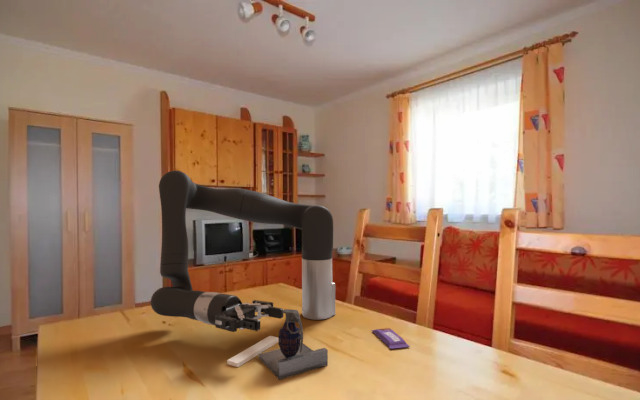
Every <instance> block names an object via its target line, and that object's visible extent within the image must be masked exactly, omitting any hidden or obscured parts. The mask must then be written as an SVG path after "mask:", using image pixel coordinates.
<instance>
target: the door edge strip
mask: <svg viewBox="0 0 640 400" xmlns="http://www.w3.org/2000/svg"><path fill="white" fill-rule="evenodd" d="M278 343H279V341H278V337H277V336H273V335H269V336H267V337H265V338H263V339H261V340H260V341H258V342H255V344H253V345H252V346H250V347H248V348H245V349H244V350H242V351H241V352H239V353H237V354H236V355H234V356H232V357H230V358H229V359H227V360H226V365H228V366H229V365H230V366H232V367H236V368H239V367H241V366H242V365H244V364H246V363H247V362H249V361H250V360H252V359H254V358H255V357H257V356H258V354H261V353H264V352H266V350H268V349H270V348H271V347H273V346H275V345H276V344H278Z"/></svg>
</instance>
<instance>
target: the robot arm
mask: <svg viewBox="0 0 640 400" xmlns="http://www.w3.org/2000/svg"><path fill="white" fill-rule="evenodd" d="M158 182H159V183H158V192H159V200H160V206H161V251H160V252H161V253H160V267H159V273H160V276H161V277H162V278H165V279H168V280H170V281H171V285H172V286H163V287H160V288H158V289H157V290H155V291H154V292H153V294H152V296H151V298H150V306H151V309H152V311H154V313H156V314H157V315H159V316H164V317H174V318H176V317H177V318H187V319H191V320H194V321H197V322H202V323H203V324H206V325H211V326H215V328H217V329H220V330H224V331H228V332H231V333H235V332H237V330H250V331H254V332H258V331H260V330H261V320H260V319H261V318H262V317H270V318H274V319H275V318H276V319H283V318H284V313H282V311H283V310H284V309H283V308H282V307H276V306H274V302H273V301H264V300H256V299H253V300H252V301H251V302H252V303H249V302H242V300H241V299H240V298H239V296H237V295H233V294H228V293H221V292H216V291H203V290H202V291H201V290H193V286H192V283H191V277H190V274H189V240H188V231H187V223H186V220H187V219H186V218H187V217H186V213H187V211H186V210H187V209H189V210H190V209H191V210H199V211H207V212H212V213H214V214H219V215H222V216H225V217H229V218H234V219H237V220H241V221H246V222H250V223H259V224H265V225H266V224H269V225H283V226H287V227H292V228H295V229H298V230H301V291H302V292H301V295H302V296H301V297H302V298H301V301H302V302H301V303H302V304H301V305H302V306H301V311H302V312H301V313H302V314H301V315H302V317H303V318H305V319H309V320H316V321H317V320H325V319H330V318H332V317H333V316H335V315H336V283H335V282H333V250H334V219H333V214H332V212H331V211H330V210H329V208H327V207H325V206H323V205H321V204H320V205H318V204H302V203H297V202H291V201H290V202H289V201H287V200H283V199H281V198H278V197H275V196H272V195H269V194H267V193H263V192H259V191H254V190H250V189H245V188H238V187H237V188H232V187H231V188H213V187H210V186H205V185H203V184H202V185H201V184H198V183H195V182H194V181H193V180H192V179H191V178H190V176H189V175H187V174H186V173H185V172H183V171H181V170H170V171H167V172H166V173H165V174H163V175H162V176H161V178H160V180H159V181H158ZM256 313H257V314H256Z"/></svg>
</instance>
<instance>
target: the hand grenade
mask: <svg viewBox="0 0 640 400" xmlns="http://www.w3.org/2000/svg"><path fill="white" fill-rule="evenodd" d="M282 313H283V314H284V315H285V319H284V323H283V326H282V327H281V328H280V329H279V332H278V341H279V342H278V346H279V349H280V350H281V352H282V353H283V355H284V356H285V357H286V358H289V357H292V356H295V355H296V354H297V352H298V350H299V347H300V353H301V351H302V345H303V344H304V343H303V342H304V330H303V323H302V320H301V316H300V313H299V311H298V309H287V308H285V309H283V311H282ZM297 324H298V326H297ZM300 343H301V346H300Z"/></svg>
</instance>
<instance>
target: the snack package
mask: <svg viewBox="0 0 640 400" xmlns="http://www.w3.org/2000/svg"><path fill="white" fill-rule="evenodd" d="M371 332H372V333H374V334H375V335H376V337H377V338H379V339H380V340H381V342H383V343H384V344H385V345H386V346H387V347H388V348H389V349H391V350H392V349H401V348H409V347H411V346H410V345H409V344H408V343H407V342H406V341H405V340H404V338H403V337H401V336H400V335H399V334H398V333H396V332H395V331H394V330H393V329H391V328H390V327H388V328H387V327H385V328H376V329H373V330H372V329H371Z"/></svg>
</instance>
